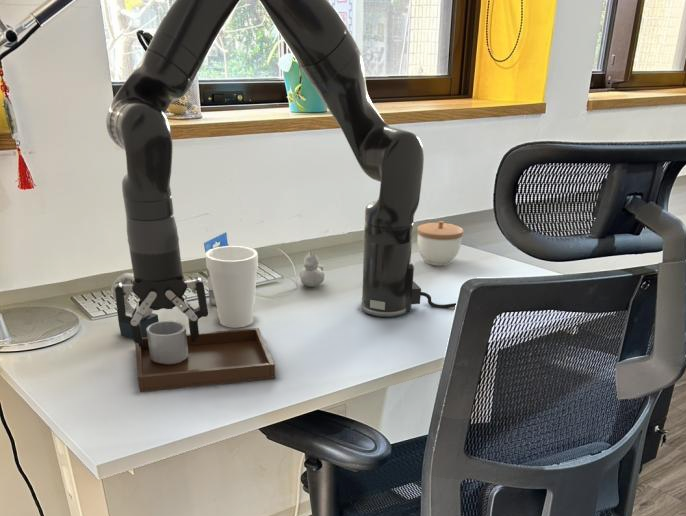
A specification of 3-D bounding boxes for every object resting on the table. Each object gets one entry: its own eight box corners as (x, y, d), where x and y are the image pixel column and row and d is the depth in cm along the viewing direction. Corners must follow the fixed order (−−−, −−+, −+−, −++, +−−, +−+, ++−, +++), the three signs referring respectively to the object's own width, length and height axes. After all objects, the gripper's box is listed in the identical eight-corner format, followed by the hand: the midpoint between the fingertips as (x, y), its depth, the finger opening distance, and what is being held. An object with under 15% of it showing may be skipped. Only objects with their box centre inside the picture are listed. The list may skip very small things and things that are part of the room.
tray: (259, 341, 129) (258, 327, 127) (275, 378, 117) (274, 364, 115) (136, 351, 124) (134, 337, 122) (139, 392, 111) (137, 377, 110)
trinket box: (408, 256, 173) (411, 216, 167) (448, 253, 176) (452, 214, 170) (424, 270, 164) (428, 229, 159) (466, 267, 167) (471, 226, 162)
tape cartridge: (226, 307, 142) (221, 245, 135) (208, 304, 143) (203, 243, 136) (246, 293, 148) (243, 233, 141) (230, 291, 150) (225, 231, 142)
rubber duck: (293, 286, 153) (292, 249, 148) (311, 278, 158) (311, 242, 153) (313, 291, 151) (313, 254, 146) (331, 283, 155) (331, 246, 151)
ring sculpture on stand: (134, 323, 134) (125, 265, 127) (167, 332, 131) (159, 274, 124) (112, 333, 130) (101, 274, 123) (145, 343, 127) (136, 283, 120)
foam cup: (251, 333, 132) (247, 263, 124) (204, 327, 133) (197, 258, 126) (267, 314, 139) (264, 248, 132) (222, 309, 141) (216, 243, 133)
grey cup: (187, 349, 124) (183, 319, 120) (190, 364, 119) (186, 333, 115) (150, 352, 122) (145, 322, 119) (151, 368, 117) (147, 337, 114)
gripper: (105, 254, 105) (123, 355, 114) (203, 249, 108) (212, 347, 117) (106, 240, 111) (123, 337, 120) (198, 235, 114) (207, 330, 123)
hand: (167, 342), depth 119 cm, fingers open, 8 cm apart
